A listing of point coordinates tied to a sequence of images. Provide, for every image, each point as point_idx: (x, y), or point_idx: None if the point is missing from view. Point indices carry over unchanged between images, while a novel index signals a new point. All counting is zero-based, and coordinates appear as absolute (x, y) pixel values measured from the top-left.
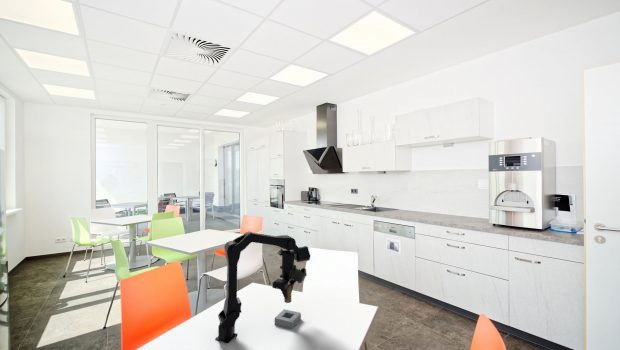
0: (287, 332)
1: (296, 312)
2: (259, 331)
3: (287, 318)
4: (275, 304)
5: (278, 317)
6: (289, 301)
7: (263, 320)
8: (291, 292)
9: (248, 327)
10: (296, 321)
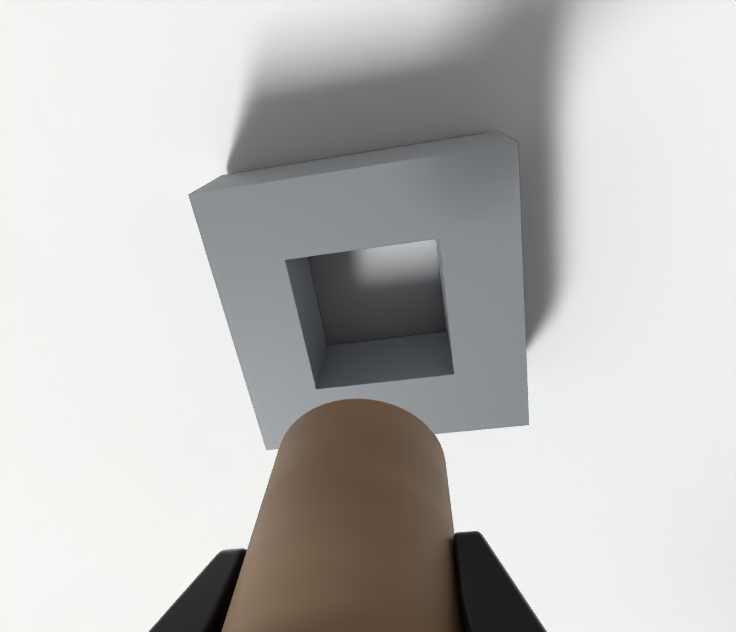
0: (588, 144)
1: (226, 261)
2: (693, 427)
3: (452, 276)
4: (165, 575)
5: (492, 393)
6: (402, 427)
7: (485, 506)
8: (174, 622)
9: (662, 541)
10: (360, 157)
